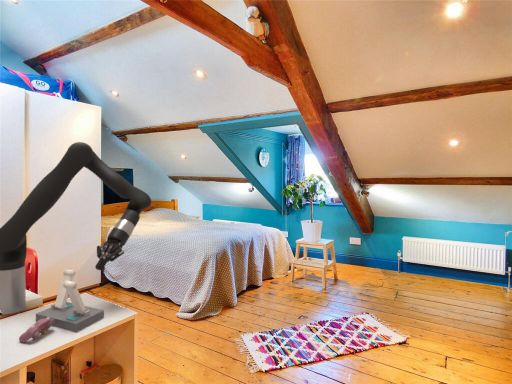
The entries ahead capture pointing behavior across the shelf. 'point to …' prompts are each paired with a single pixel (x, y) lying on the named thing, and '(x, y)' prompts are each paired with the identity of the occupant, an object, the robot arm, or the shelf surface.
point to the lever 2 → (74, 296)
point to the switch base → (71, 317)
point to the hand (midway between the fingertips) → (98, 269)
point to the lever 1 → (64, 289)
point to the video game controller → (37, 329)
